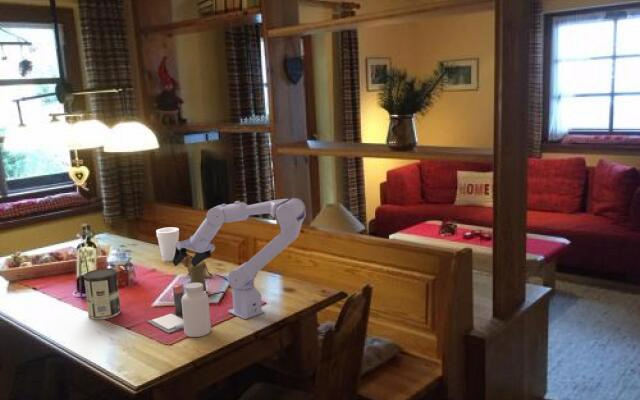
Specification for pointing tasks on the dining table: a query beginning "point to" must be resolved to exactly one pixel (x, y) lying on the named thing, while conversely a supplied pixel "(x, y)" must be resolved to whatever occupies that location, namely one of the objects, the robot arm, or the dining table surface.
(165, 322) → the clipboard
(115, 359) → the dining table surface
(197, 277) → the brown upright piece
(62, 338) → the dining table surface
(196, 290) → the pill bottle
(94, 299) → the coffee can
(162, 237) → the foam cup
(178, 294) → the marker
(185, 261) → the lion figurine
